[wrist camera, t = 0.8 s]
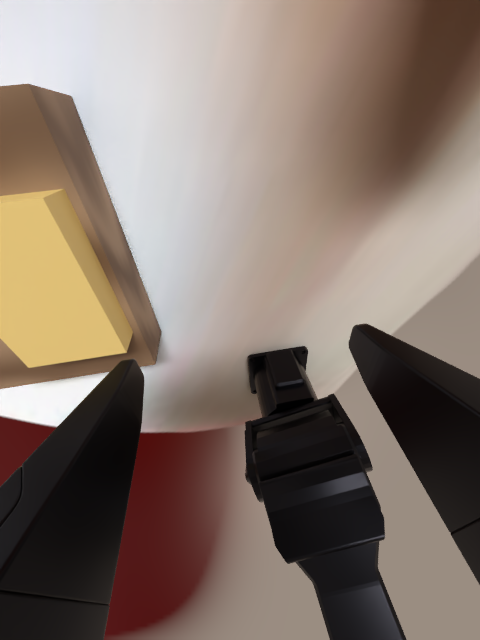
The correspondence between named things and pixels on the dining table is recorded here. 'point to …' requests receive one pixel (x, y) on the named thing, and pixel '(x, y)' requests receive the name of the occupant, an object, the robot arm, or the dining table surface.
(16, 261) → the yellow flat block
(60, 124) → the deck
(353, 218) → the dining table surface
